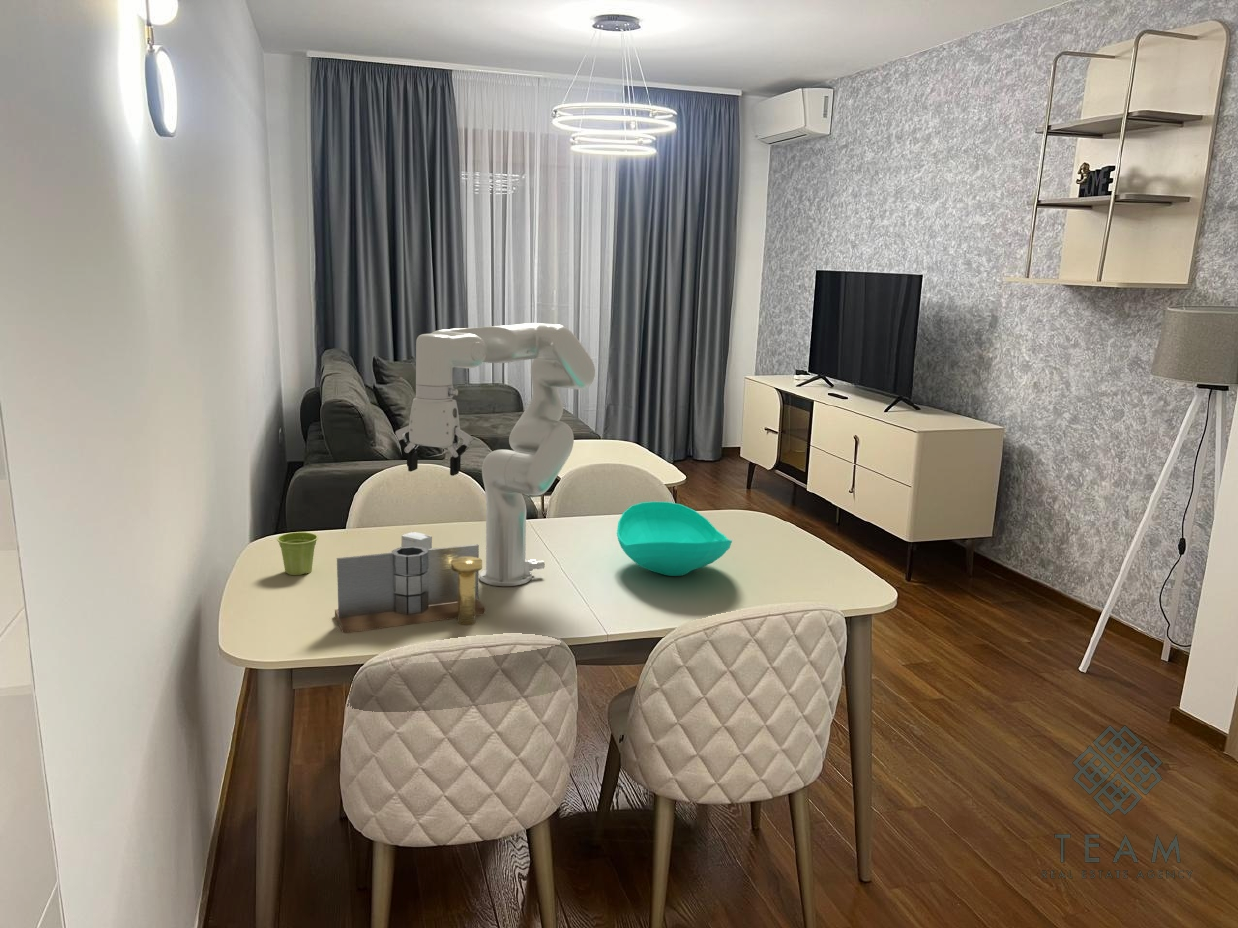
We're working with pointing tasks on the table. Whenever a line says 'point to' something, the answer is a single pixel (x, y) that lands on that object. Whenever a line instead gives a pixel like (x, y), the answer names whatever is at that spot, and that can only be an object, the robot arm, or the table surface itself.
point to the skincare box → (417, 540)
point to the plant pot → (297, 551)
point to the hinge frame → (380, 583)
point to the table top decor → (669, 538)
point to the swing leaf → (438, 575)
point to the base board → (402, 617)
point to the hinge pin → (466, 587)
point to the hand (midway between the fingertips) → (433, 472)
